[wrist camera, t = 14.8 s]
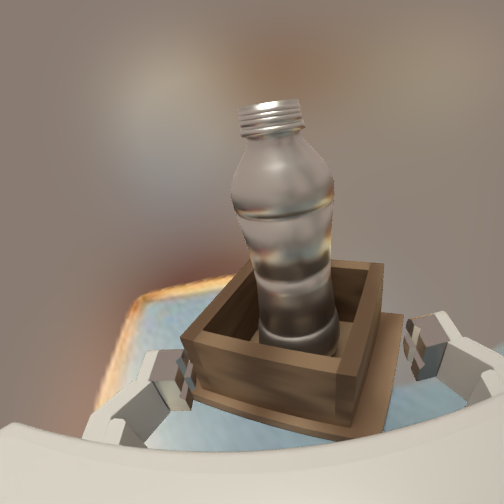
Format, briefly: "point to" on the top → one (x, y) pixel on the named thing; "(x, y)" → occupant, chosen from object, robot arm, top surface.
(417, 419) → the top surface
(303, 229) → the plastic bottle
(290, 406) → the bottle caddy
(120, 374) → the top surface
